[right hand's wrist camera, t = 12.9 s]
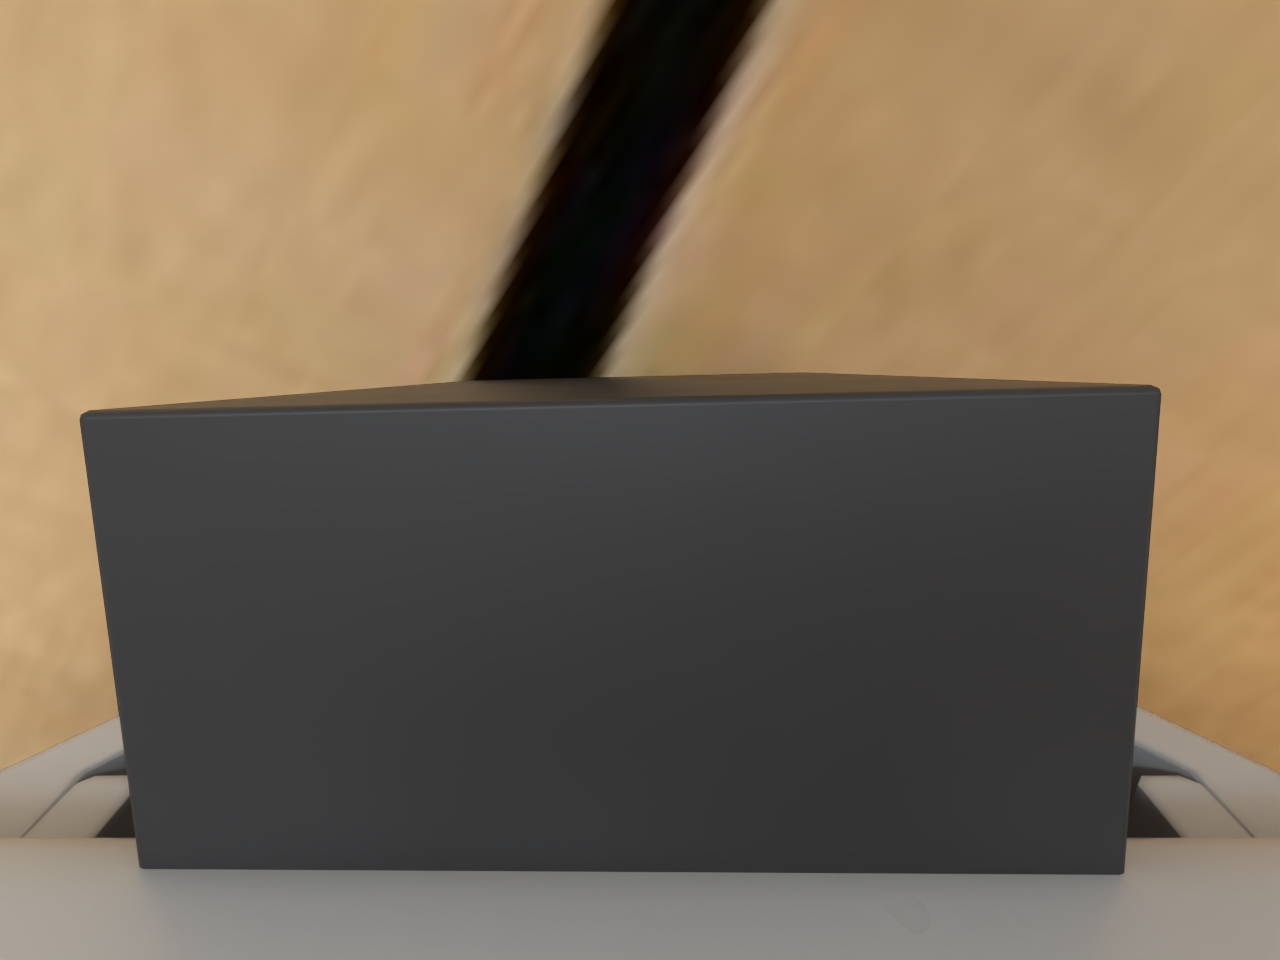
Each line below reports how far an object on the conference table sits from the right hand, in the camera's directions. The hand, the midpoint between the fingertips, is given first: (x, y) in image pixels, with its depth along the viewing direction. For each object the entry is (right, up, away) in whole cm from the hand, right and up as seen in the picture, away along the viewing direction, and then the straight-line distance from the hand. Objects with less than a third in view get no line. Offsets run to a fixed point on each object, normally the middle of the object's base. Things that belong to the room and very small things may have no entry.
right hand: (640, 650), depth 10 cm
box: (0, -8, +6) cm, 10 cm away
